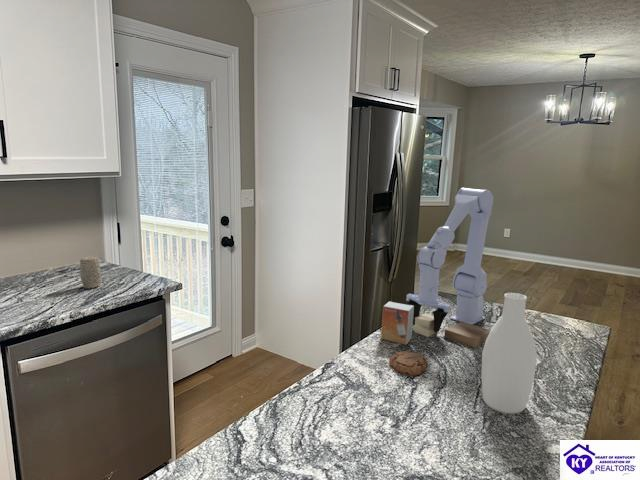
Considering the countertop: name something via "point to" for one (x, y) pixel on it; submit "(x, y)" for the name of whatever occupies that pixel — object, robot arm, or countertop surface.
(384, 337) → the small box
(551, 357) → the countertop surface
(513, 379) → the bottle
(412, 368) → the cookie
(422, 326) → the maple cube
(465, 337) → the walnut block
